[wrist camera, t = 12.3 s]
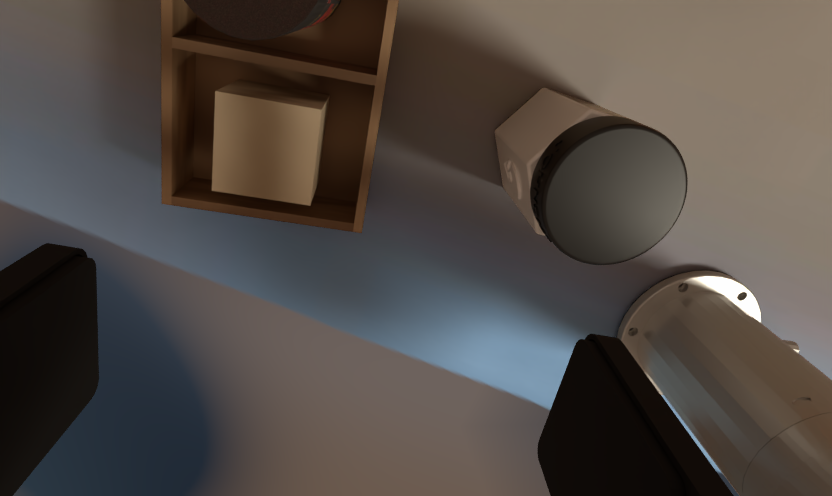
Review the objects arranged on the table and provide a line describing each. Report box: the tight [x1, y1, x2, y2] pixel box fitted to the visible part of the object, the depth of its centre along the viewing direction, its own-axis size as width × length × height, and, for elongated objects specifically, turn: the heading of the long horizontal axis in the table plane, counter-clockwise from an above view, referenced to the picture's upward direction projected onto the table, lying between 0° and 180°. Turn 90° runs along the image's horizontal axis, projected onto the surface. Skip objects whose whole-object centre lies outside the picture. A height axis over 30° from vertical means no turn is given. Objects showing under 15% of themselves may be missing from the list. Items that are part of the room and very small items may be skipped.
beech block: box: [212, 79, 330, 206], centre depth 34 cm, size 6×6×6 cm
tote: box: [161, 0, 399, 233], centre depth 33 cm, size 20×13×5 cm, turn 169°
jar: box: [495, 88, 687, 265], centre depth 34 cm, size 9×8×12 cm
